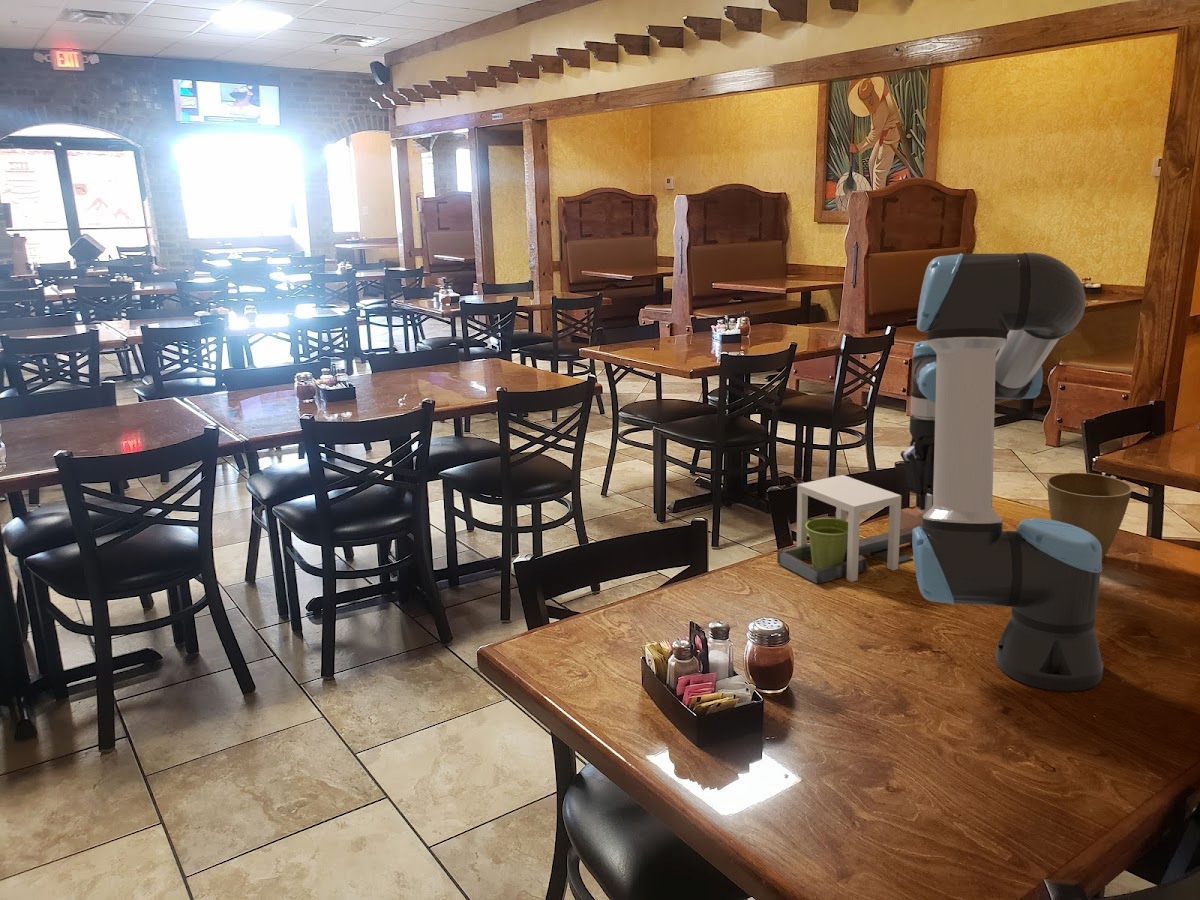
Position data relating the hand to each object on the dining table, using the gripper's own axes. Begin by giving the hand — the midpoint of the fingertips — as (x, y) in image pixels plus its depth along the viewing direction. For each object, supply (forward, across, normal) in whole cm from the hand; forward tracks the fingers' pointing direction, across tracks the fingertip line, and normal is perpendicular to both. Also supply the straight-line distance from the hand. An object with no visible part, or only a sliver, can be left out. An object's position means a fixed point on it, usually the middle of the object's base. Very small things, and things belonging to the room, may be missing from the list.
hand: (923, 522), depth 196 cm
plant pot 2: (+5, -19, +24) cm, 31 cm away
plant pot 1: (+4, +26, 0) cm, 26 cm away
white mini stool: (+4, +18, 0) cm, 19 cm away
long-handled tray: (+4, +17, 0) cm, 18 cm away
